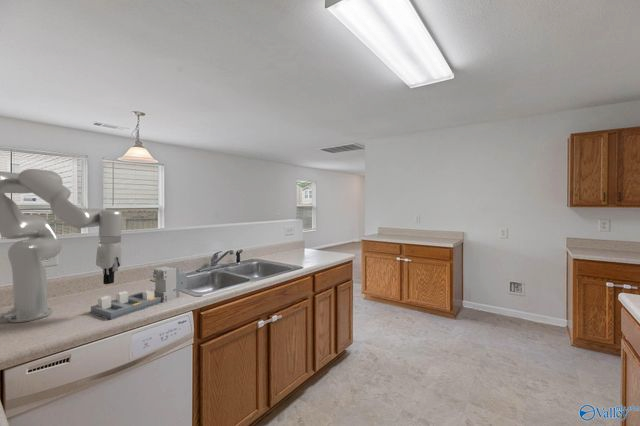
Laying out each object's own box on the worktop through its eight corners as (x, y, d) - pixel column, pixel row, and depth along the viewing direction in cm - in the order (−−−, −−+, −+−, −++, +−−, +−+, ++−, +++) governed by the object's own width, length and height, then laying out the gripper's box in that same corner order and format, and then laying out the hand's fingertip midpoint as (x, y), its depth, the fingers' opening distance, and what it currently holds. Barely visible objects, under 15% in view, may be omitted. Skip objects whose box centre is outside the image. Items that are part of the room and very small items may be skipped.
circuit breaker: (189, 293, 145) (189, 264, 144) (164, 302, 132) (163, 270, 131) (179, 291, 148) (179, 263, 147) (153, 300, 135) (153, 269, 134)
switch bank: (111, 319, 112) (110, 312, 112) (91, 312, 119) (90, 306, 119) (160, 302, 131) (160, 296, 131) (141, 297, 138) (141, 291, 138)
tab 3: (147, 302, 127) (146, 291, 127) (142, 301, 129) (142, 290, 128) (154, 300, 130) (154, 289, 130) (150, 299, 132) (150, 288, 132)
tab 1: (102, 309, 118) (101, 298, 118) (98, 308, 120) (97, 297, 119) (111, 307, 121) (111, 295, 121) (107, 306, 123) (107, 294, 123)
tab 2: (120, 304, 125) (119, 293, 124) (116, 303, 126) (115, 292, 126) (128, 302, 128) (128, 291, 127) (124, 300, 129) (124, 290, 129)
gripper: (89, 238, 117) (88, 282, 117) (110, 242, 110) (108, 289, 111) (109, 237, 123) (108, 278, 124) (130, 241, 117) (128, 284, 118)
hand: (108, 283), depth 117 cm, fingers closed
